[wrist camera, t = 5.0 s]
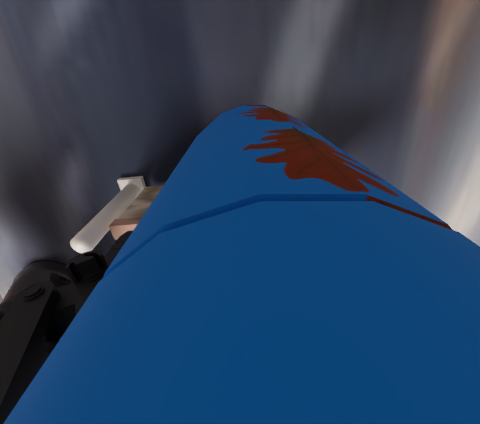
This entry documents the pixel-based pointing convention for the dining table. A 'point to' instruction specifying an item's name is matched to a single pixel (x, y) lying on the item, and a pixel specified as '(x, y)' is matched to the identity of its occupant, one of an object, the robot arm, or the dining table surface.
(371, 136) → the dining table surface
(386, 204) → the thermos
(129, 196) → the gate posts
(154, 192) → the gate
